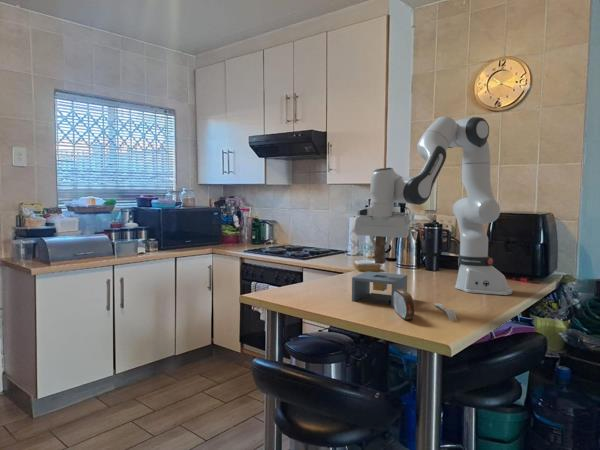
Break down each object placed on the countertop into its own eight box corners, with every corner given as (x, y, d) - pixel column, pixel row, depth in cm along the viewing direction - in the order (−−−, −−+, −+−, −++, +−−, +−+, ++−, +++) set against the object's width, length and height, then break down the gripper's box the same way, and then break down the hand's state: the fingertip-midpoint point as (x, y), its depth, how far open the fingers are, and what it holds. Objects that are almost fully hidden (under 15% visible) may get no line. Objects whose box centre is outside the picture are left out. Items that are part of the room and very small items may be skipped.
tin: (414, 322, 139) (415, 296, 138) (405, 323, 139) (405, 296, 138) (400, 310, 154) (401, 286, 153) (391, 310, 154) (391, 286, 153)
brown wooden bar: (385, 262, 168) (386, 225, 167) (382, 263, 166) (383, 226, 165) (377, 262, 170) (378, 225, 169) (374, 263, 167) (376, 225, 166)
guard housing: (406, 298, 172) (407, 275, 171) (394, 307, 158) (394, 281, 157) (367, 293, 180) (367, 271, 179) (351, 301, 166) (352, 277, 165)
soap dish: (375, 269, 241) (376, 260, 240) (381, 272, 231) (381, 262, 231) (353, 269, 239) (353, 260, 239) (357, 272, 229) (357, 263, 229)
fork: (440, 310, 161) (440, 303, 161) (458, 321, 140) (458, 312, 140) (432, 310, 161) (432, 302, 161) (449, 321, 140) (449, 312, 140)
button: (386, 289, 169) (387, 281, 169) (383, 291, 166) (383, 282, 166) (376, 287, 171) (376, 280, 171) (373, 289, 168) (373, 281, 168)
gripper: (411, 212, 164) (410, 249, 165) (359, 210, 174) (358, 246, 175) (407, 212, 159) (405, 251, 160) (353, 210, 169) (352, 247, 170)
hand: (380, 248), depth 167 cm, fingers closed on brown wooden bar, 3 cm apart
